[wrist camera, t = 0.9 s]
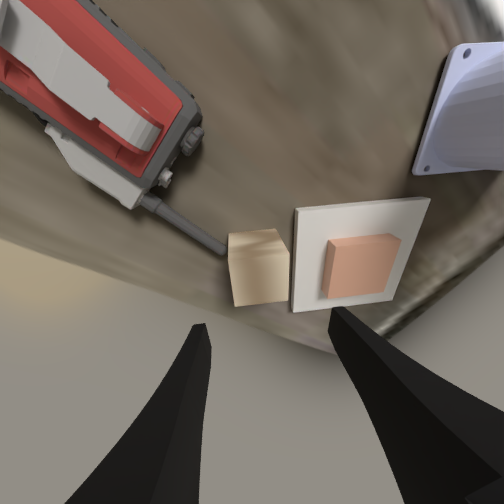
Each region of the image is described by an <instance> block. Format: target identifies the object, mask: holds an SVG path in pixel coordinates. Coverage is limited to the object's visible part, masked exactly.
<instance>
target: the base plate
mask: <svg viewBox="0 0 504 504" xmlns="http://www.w3.org/2000/svg"><path fill="white" fill-rule="evenodd" d="M430 201H431V199H430V198H426V197H422V196H419V197H408V198H398V199H387V200H377V201H366V202H355V203H345V204H334V205H324V206H313V207H303V208H295V222H294V245H293V268H292V291H291V308H292V311H293V313H295V312H303V311H311V310H319V309H327V308H332V307H338V306H351V305H359V304H367V303H375V302H383V301H391V300H392V299H393V297H394V294H395V291H396V289H397V286H398V284H399V281H400V278H401V276H402V273H403V271H404V268H405V265H406V263H407V260H408V258H409V255H410V252H411V250H412V247H413V245H414V242H415V239H416V237H417V234H418V232H419V229H420V226H421V224H422V221H423V219H424V216H425V213H426V211H427V208H428V206H429V203H430Z"/></svg>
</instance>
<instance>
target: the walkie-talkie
mask: <svg viewBox="0 0 504 504" xmlns="http://www.w3.org/2000/svg"><path fill="white" fill-rule="evenodd" d="M0 89H1V90H2V91H4V93H6V94H7V95H9V96H11V97H13V98H14V99H15V100H16V101H17V102H19V103H20V104H23V105H24V106H25V107H27V108H28V109H29V110H30V111H31V112H33V113H34V115H35V116H36V117H37V119H38V120H39V121H40V122H41V123H42V124H43V125H44V126H45V127H46V129H45V131H44V132H46V133H47V134H48V135H50V136H51V137H52V139H53V140H54V142H55V143H56V145H57V146H58V148H59V150H60V151H61V153H62V154H63V156H64V158H65V159H66V161H67V162H68V164H69V166H70V167H71V169H72V170H73V171H74V172H75V173H77V174H78V175H80V176H82V177H83V178H85V179H86V180H88V181H89V182H91V183H92V184H94V185H96V186H97V187H99V188H100V189H102V190H103V191H105V192H107V193H108V194H110V195H111V196H113V197H114V198H116V199H117V200H119V201H120V203H121V204H122V205H123V206H125V207H127V208H128V209H130V210H132V209H134V208H135V207H137V206H139V205H141V206H142V207H144V208H145V209H147V210H148V211H150V212H151V213H156V214H158V215H159V216H161V217H162V218H164V219H165V220H167V221H168V222H170V223H171V224H173V225H174V226H176V227H177V228H179V229H180V230H182V231H183V232H185V233H186V234H188V235H190V236H191V237H193V238H194V239H196V240H197V241H199V242H200V243H202V244H203V245H205V246H206V247H208V248H209V249H211V250H212V251H214V252H215V253H217V254H218V255H225V254H226V252H227V247H226V246H225V245H223V244H222V243H221V242H219V241H218V240H216V239H215V238H213V237H212V236H211V235H209V234H208V233H206V232H205V231H203V230H202V229H200V228H199V227H198V226H196V225H195V224H193V223H192V222H190V221H189V220H187V219H186V218H185V217H183V216H182V215H180V214H179V213H177V212H176V211H175V210H173V209H172V208H170V207H169V206H167V205H166V204H164V203H163V201H162V199H160V198H159V197H157V196H156V195H154V194H153V193H152V192H150V191H149V190H150V189H151V188H152V187H154V186H156V185H158V186H160V185H162V186H163V187H165V188H167V186H168V185H169V184H170V182H171V179H170V178H171V176H172V174H173V173H172V172H170V171H169V169H170V167H171V166H172V164H173V163H174V161H175V159H176V158H177V156H178V155H179V153H180V152H181V150H182V153H183V154H184V155H185V156H190V155H191V154H192V153H193V152H194V150H195V149H196V148H197V146H198V145H199V143H200V142H201V140H202V138H203V136H204V130H203V129H201V128H200V127H196V126H197V125H198V123H199V122H200V120H201V118H202V117H203V116H202V113H201V110H200V107H199V106H198V104H197V103H196V102H195V100H194V96H193V95H192V93H191V92H190V91H189V90H188V89H187V88H186V87H185V86H184V85H183V84H181V83H180V82H179V81H174V80H173V79H172V78H171V77H170V76H169V75H168V74H167V73H166V71H165V68H164V67H163V65H162V64H161V63H160V62H159V61H158V60H157V59H156V58H155V57H154V56H153V55H152V54H151V53H150V52H149V51H148V50H147V49H146V48H145V47H144V49H141V48H140V47H139V46H138V45H137V44H136V43H135V42H134V41H133V40H132V39H131V38H130V37H129V36H128V35H127V34H126V33H125V32H124V31H123V30H122V29H121V28H120V27H118V26H117V25H116V24H115V22H114V21H113V20H112V19H111V18H110V17H109V16H107V15H106V14H105V13H104V12H103V11H102V10H101V9H100V7H98V6H97V5H96V4H95V3H94V2H93V1H92V0H0Z"/></svg>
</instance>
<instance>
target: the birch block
mask: <svg viewBox="0 0 504 504" xmlns="http://www.w3.org/2000/svg"><path fill="white" fill-rule="evenodd" d="M289 257H290V254H289V252H288V250H287V249H286V247H285V245H284V243H283V241H282V240H281V238H280V236H279V234H278V232H277V231H276V229H267V230H257V231H247V232H237V233H229V241H228V264H229V271H230V278H231V284H232V291H233V298H234V304H235V307H237V306H246V305H254V304H262V303H270V302H279V301H287V300H288V287H289Z"/></svg>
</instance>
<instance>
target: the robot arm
mask: <svg viewBox="0 0 504 504" xmlns="http://www.w3.org/2000/svg"><path fill="white" fill-rule="evenodd" d="M464 52H465V56H464V58H463V54H464ZM425 167H426V169H425V170H424V168H425ZM486 169H487V170H499V171H504V42H490V43H470V44H461V45H458V46H456V47H454V48H453V49H452V50H451V51H450V53H449V55H448V57H447V60H446V64H445V67H444V70H443V73H442V76H441V80H440V83H439V86H438V89H437V92H436V95H435V99H434V102H433V105H432V108H431V111H430V115H429V118H428V121H427V124H426V127H425V130H424V134H423V137H422V140H421V143H420V146H419V150H418V153H417V156H416V159H415V162H414V166H413V169H412V173H413V174H414V175H429V174H441V173H452V172H463V171H475V170H486ZM328 334H329V336H330V339H331V341H332V344H333V346H334V348H335V351H336V352H337V354H338V356H339V358H340V360H341V362H342V364H343V366H344V367H345V369H346V371H347V373H348V375H349V377H350V378H351V380H352V382H353V384H354V386H355V388H356V389H357V391H358V393H359V395H360V397H361V399H362V401H363V403H364V405H365V408H366V410H367V412H368V414H369V417H370V419H371V421H372V423H373V425H374V428H375V430H376V433H377V435H378V437H379V440H380V442H381V445H382V447H383V449H384V452H385V454H386V457H387V459H388V462H389V464H390V467H391V469H392V472H393V474H394V477H395V479H396V482H397V484H398V487H399V490H400V493H401V495H402V498H403V501H404V503H405V504H504V412H503V411H501V410H499V409H497V408H495V407H493V406H492V405H490V404H488V403H486V402H484V401H482V400H480V399H478V398H477V397H475V396H473V395H471V394H469V393H467V392H466V391H463V390H462V389H460V388H459V387H457V386H455V385H453V384H452V383H450V382H448V381H446V380H445V379H443V378H441V377H440V376H438V375H436V374H435V373H433V372H431V371H430V370H428V369H427V368H425V367H424V366H422V365H421V364H419V363H418V362H416V361H414V360H413V359H411V358H410V357H408V356H407V355H405V354H404V353H402V352H401V351H400V350H398V349H397V348H396V347H394V346H393V345H391V344H390V343H389V342H387V341H386V340H385V339H383V338H382V337H381V336H379V335H378V334H377V333H376V332H374V331H373V330H372V329H370V328H369V327H368V326H367V325H365V324H364V323H363V322H362V321H360V320H359V319H358V318H357V317H356V316H354V315H353V314H352V313H351V312H349V311H348V310H347V309H346V308H345V307H343V306H338V307H332V311H331V316H330V322H329V327H328ZM210 369H211V343H210V339H209V336H208V332H207V328H206V325H205V323H203V324H196V325H193V326H192V328H191V331H190V333H189V334H188V337H187V339H186V340H185V343H184V344H183V346H182V348H181V350H180V352H179V353H178V355H177V357H176V359H175V361H174V362H173V364H172V366H171V367H170V369H169V371H168V372H167V374H166V376H165V377H164V379H163V380H162V382H161V383H160V385H159V387H158V388H157V389H156V391H155V393H154V394H153V395H152V397H151V398H150V400H149V401H148V403H147V404H146V405H145V407H144V408H143V410H142V411H141V412H140V414H139V415H138V416H137V418H136V419H135V420H134V422H133V423H132V424H131V426H130V427H129V428H128V430H127V431H126V432H125V433H124V435H123V436H122V437H121V438H120V440H119V441H118V442H117V444H116V445H115V446H114V447H113V448H112V449H111V451H110V452H109V453H108V454H107V455H106V457H105V458H104V459H103V460H102V461H101V463H100V464H99V465H98V466H97V468H96V469H95V470H94V471H93V472H92V473H91V475H90V476H89V477H88V478H87V479H86V480H85V481H84V482H83V484H82V485H81V486H80V487H79V488H78V489H77V490H76V491H75V493H74V494H73V495H72V496H71V497H70V498H69V499H68V500H67V501H66V502H65V504H199V480H200V462H201V445H202V430H203V419H204V412H205V404H206V397H207V390H208V382H209V375H210Z"/></svg>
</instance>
